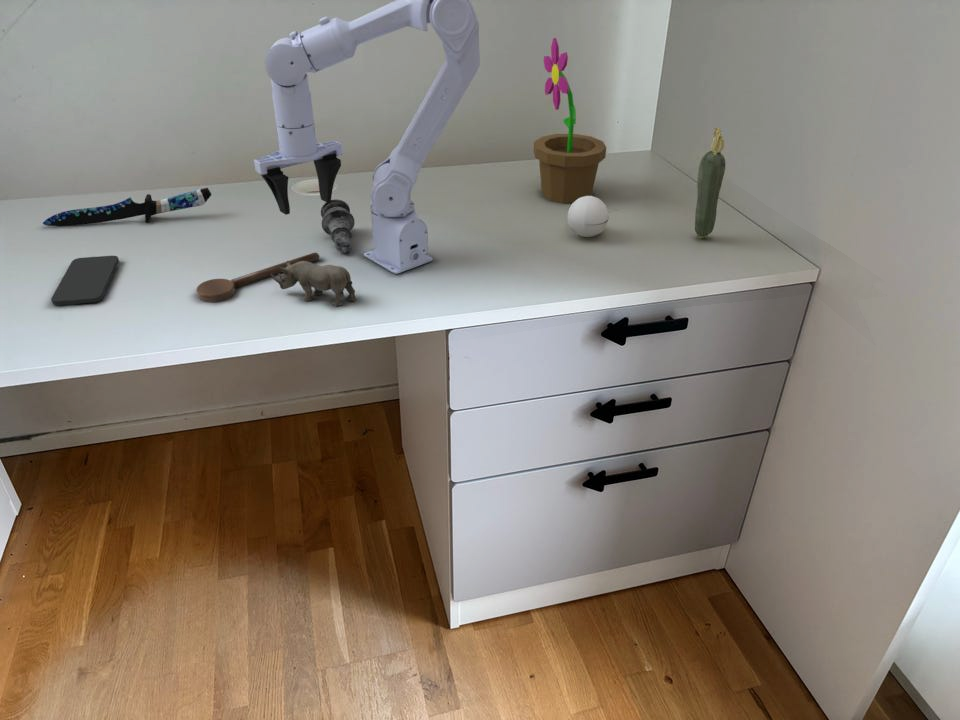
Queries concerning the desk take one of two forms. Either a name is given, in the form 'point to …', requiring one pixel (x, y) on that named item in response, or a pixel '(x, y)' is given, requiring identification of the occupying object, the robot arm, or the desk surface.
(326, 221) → the grey weathered turned ornament
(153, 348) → the desk surface
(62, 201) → the desk surface
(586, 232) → the white ball
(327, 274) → the rhino figurine
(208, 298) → the brown long-handled part
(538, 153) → the flowerpot
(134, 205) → the knife
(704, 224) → the vegetable
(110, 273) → the phone
